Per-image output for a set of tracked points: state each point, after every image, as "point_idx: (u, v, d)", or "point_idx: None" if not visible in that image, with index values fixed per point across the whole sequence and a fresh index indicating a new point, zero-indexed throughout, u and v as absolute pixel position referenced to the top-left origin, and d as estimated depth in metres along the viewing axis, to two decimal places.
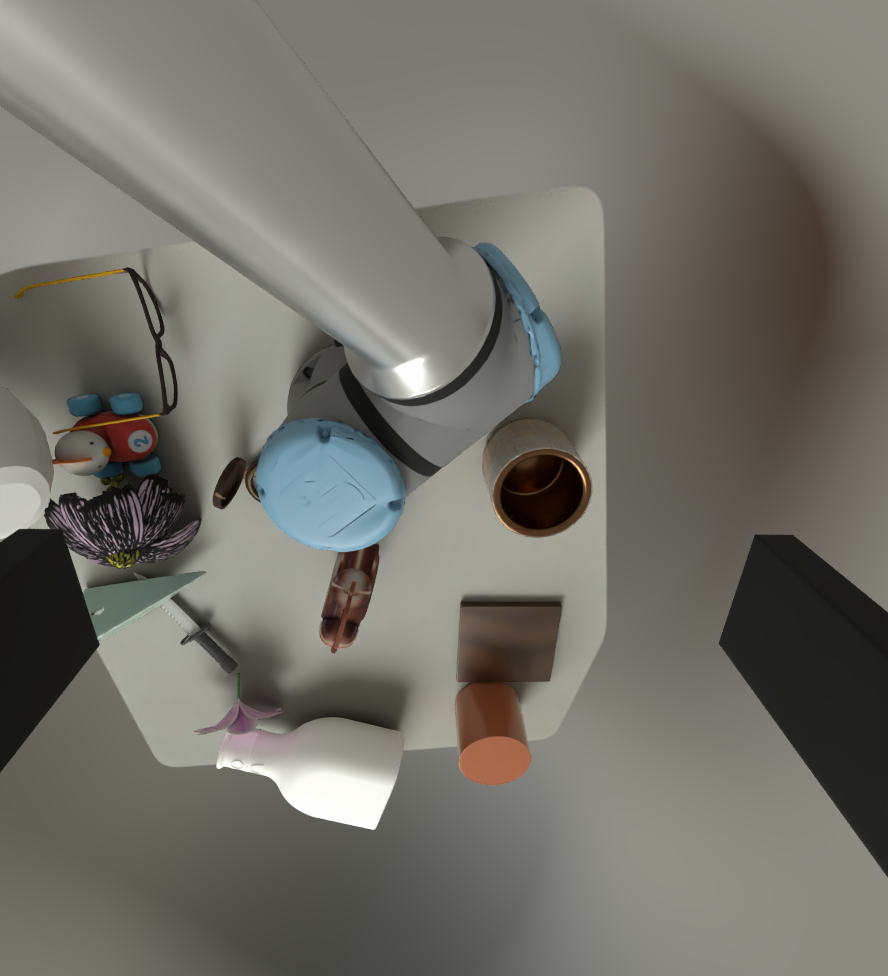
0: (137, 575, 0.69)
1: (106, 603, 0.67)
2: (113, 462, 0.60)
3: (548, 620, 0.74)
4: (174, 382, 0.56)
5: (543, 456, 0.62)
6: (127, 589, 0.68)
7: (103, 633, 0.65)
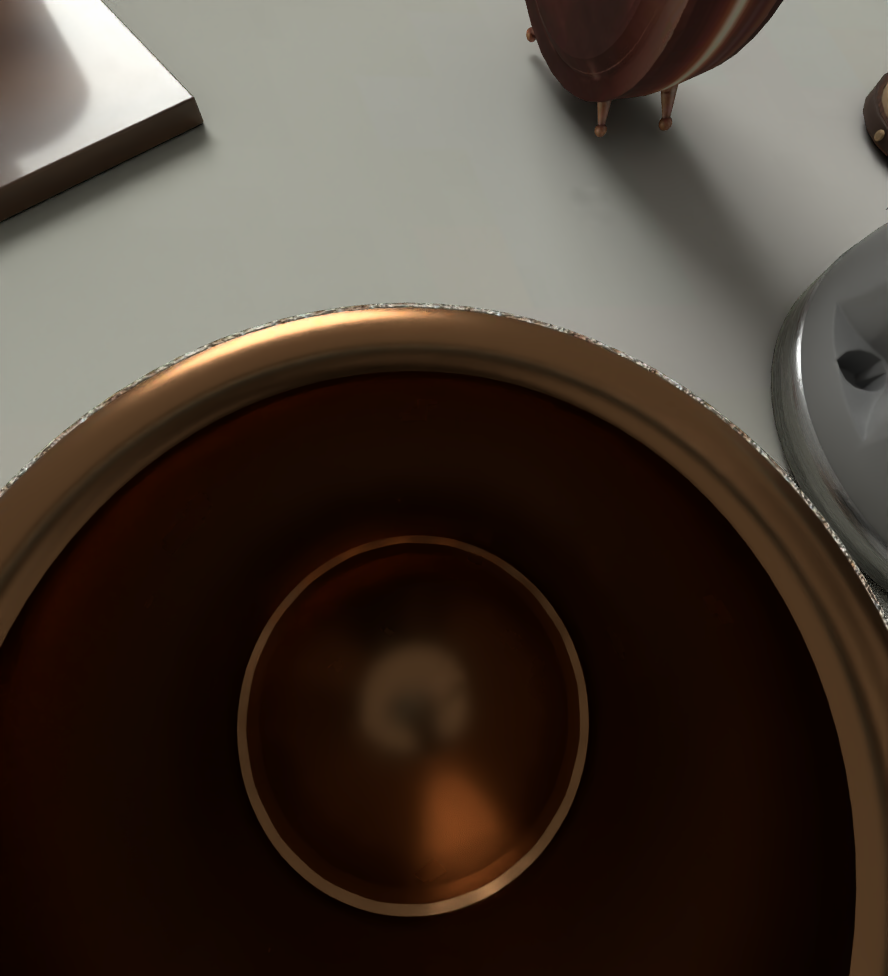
0: None
1: None
2: None
3: None
4: None
5: (387, 798, 0.12)
6: None
7: None
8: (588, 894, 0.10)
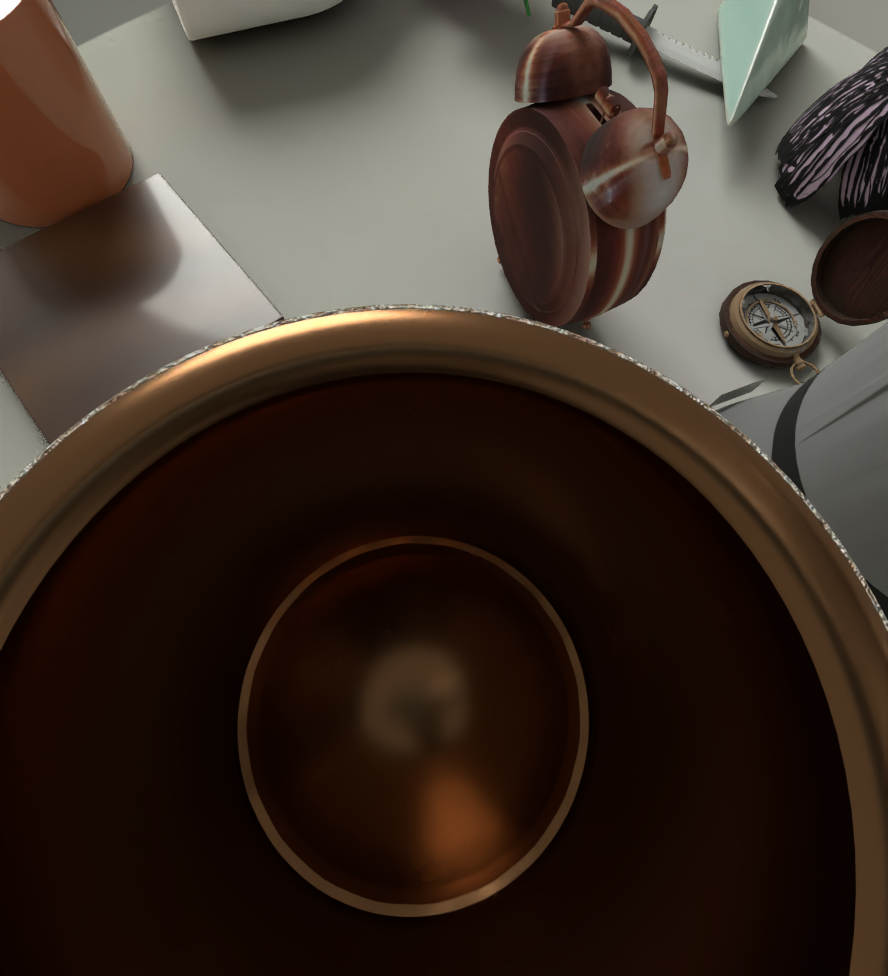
0: (771, 94, 0.40)
1: (796, 15, 0.40)
2: None
3: (62, 404, 0.28)
4: None
5: (387, 799, 0.12)
6: (783, 52, 0.40)
7: None
8: (588, 895, 0.10)
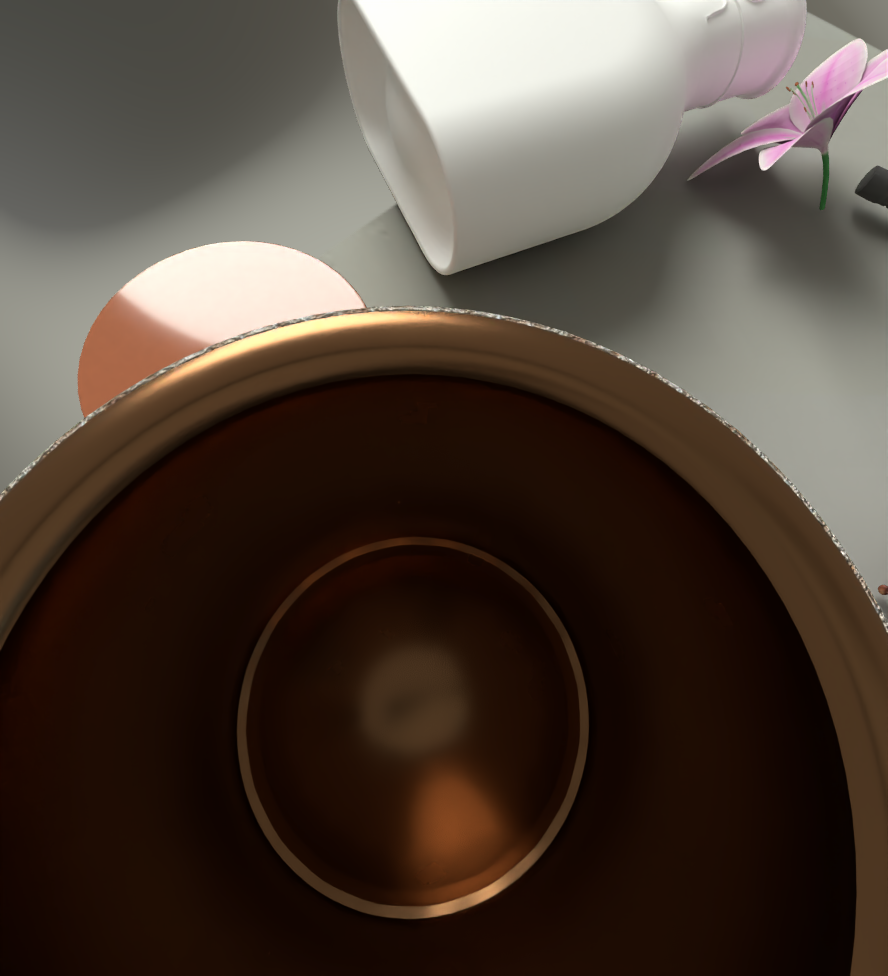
0: None
1: None
2: None
3: None
4: None
5: (387, 800, 0.12)
6: None
7: None
8: (588, 898, 0.10)
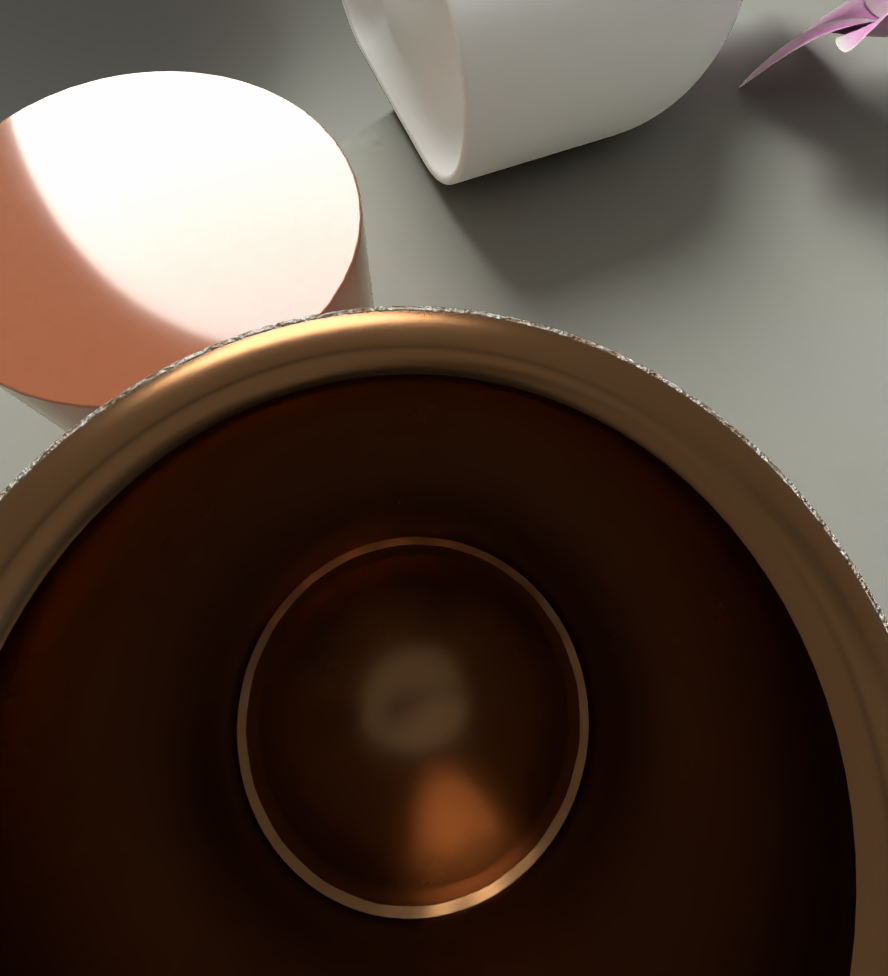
0: None
1: None
2: None
3: None
4: None
5: (387, 800, 0.12)
6: None
7: None
8: (589, 898, 0.10)
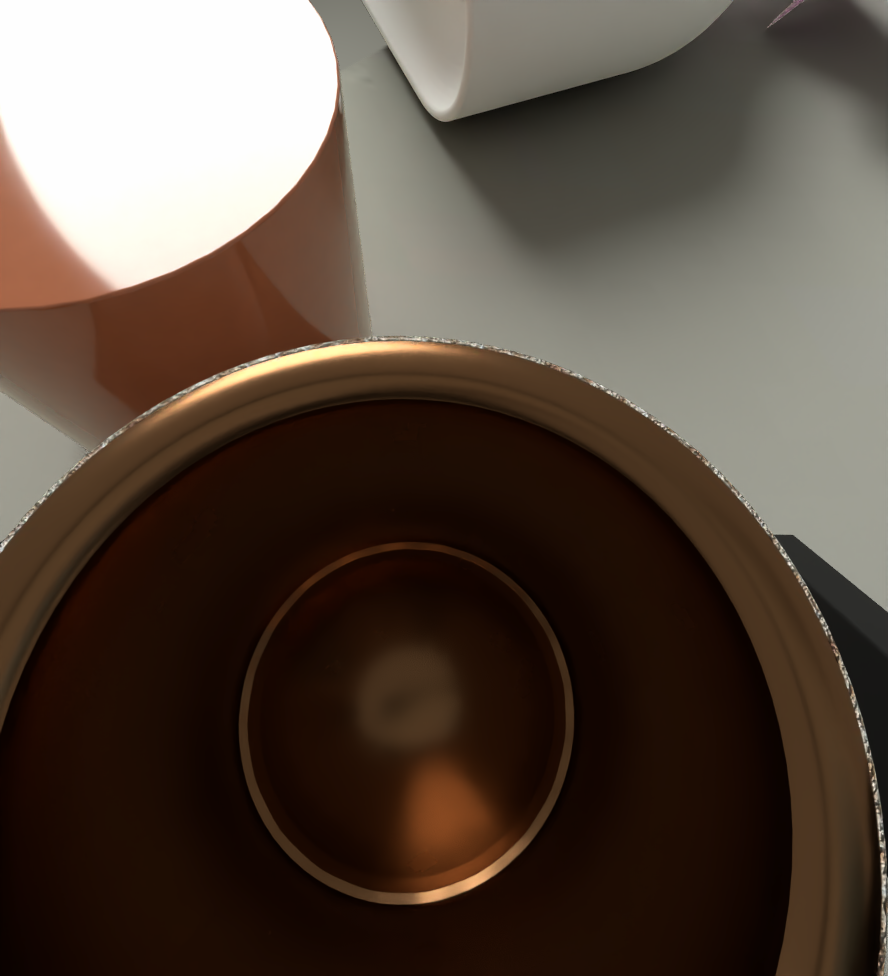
0: None
1: None
2: None
3: None
4: None
5: (381, 793, 0.13)
6: None
7: None
8: (568, 881, 0.10)
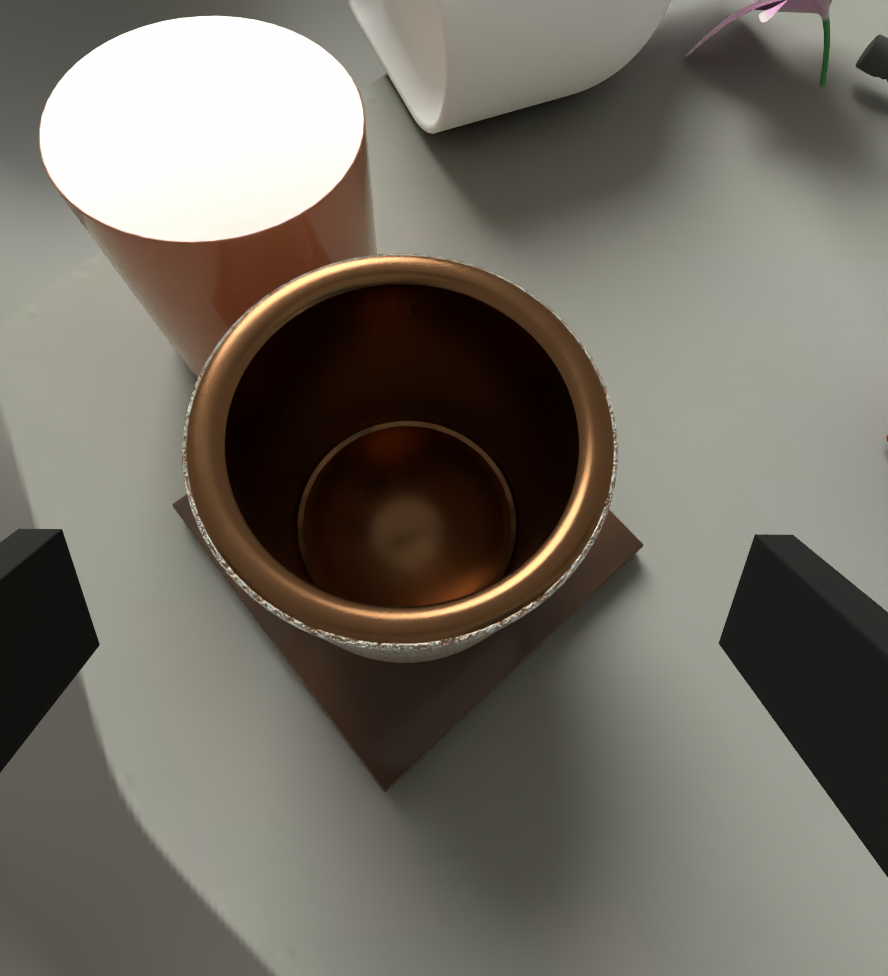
0: None
1: None
2: None
3: (377, 706, 0.20)
4: None
5: (390, 564, 0.20)
6: None
7: None
8: None
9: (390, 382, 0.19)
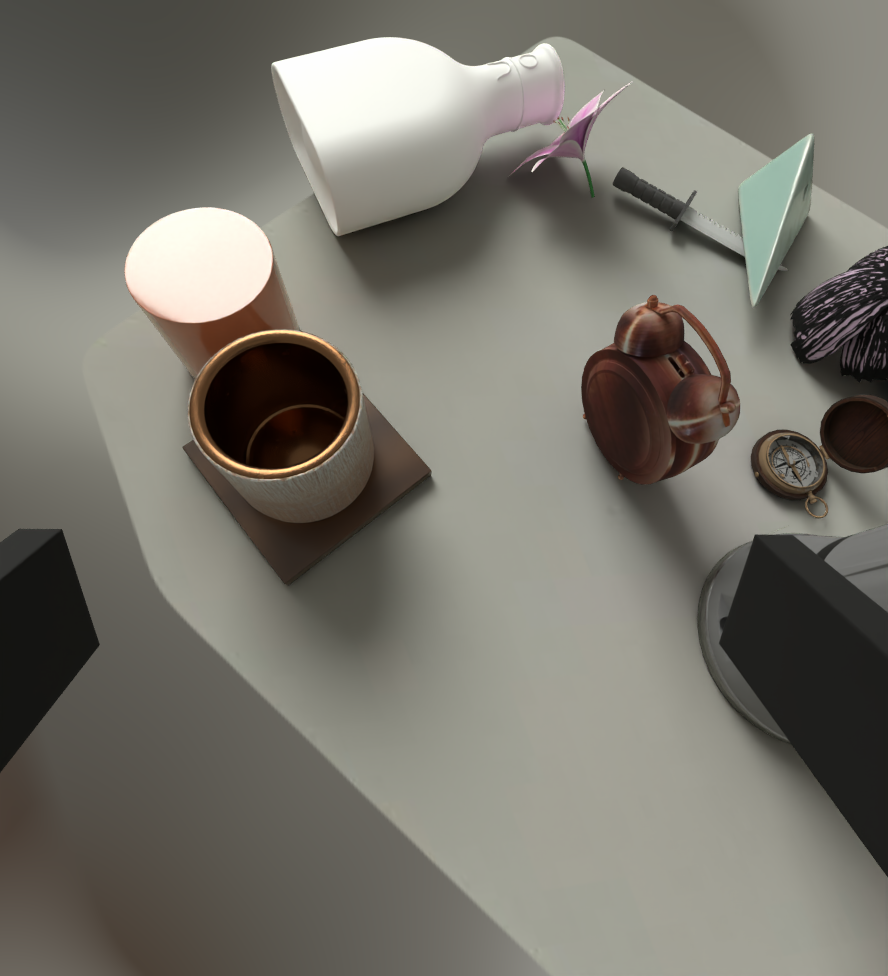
0: (782, 268, 0.51)
1: (802, 206, 0.50)
2: None
3: (283, 545, 0.39)
4: None
5: None
6: (792, 235, 0.50)
7: (802, 166, 0.48)
8: None
9: (290, 384, 0.39)
